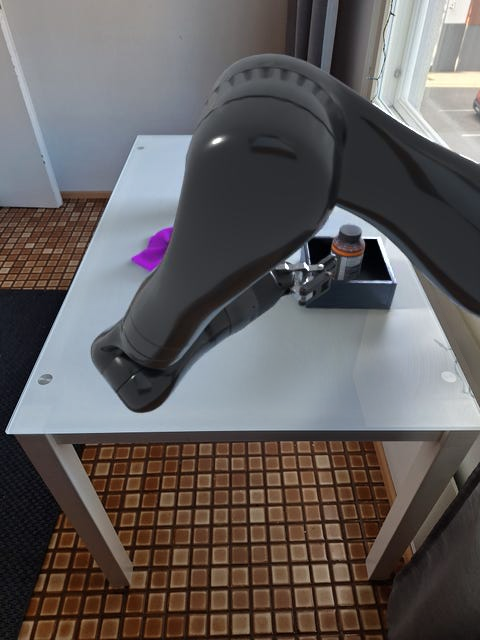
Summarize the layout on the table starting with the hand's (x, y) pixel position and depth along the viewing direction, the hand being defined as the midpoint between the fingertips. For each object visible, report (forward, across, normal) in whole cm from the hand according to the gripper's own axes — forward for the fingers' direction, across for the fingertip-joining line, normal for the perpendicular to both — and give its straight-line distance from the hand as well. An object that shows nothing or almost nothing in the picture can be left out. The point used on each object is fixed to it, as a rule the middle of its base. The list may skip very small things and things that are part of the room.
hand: (310, 248), depth 71 cm
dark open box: (+17, +3, +17) cm, 24 cm away
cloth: (+3, +33, +17) cm, 37 cm away
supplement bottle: (+17, +3, +17) cm, 24 cm away
